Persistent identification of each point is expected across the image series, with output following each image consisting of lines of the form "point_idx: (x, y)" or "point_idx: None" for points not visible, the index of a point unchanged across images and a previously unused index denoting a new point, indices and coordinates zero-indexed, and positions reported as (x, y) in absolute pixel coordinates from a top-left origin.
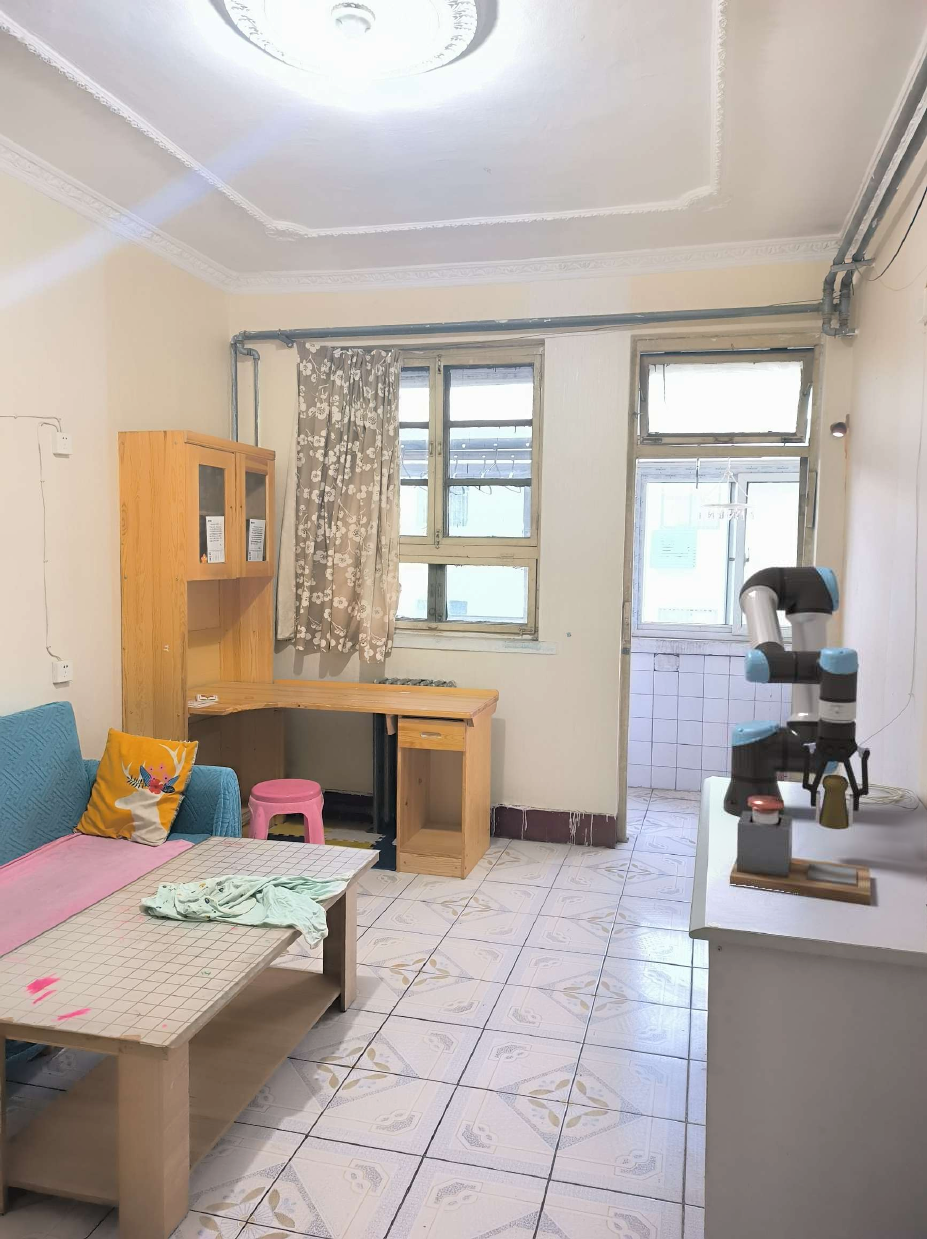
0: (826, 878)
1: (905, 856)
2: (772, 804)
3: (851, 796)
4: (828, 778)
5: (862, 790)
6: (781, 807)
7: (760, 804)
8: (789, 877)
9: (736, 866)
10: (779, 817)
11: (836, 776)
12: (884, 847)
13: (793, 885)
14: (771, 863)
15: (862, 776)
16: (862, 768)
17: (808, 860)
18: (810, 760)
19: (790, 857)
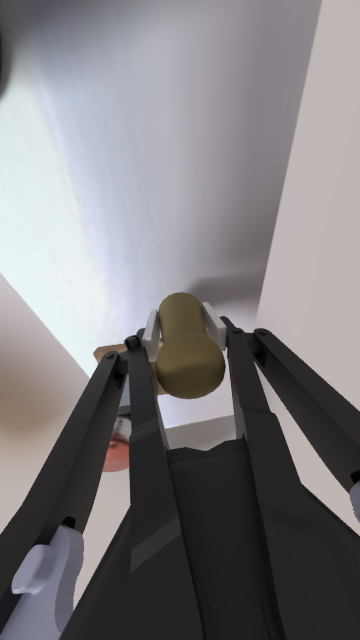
0: None
1: (259, 236)
2: (124, 468)
3: (221, 345)
4: (175, 396)
5: (253, 359)
6: None
7: (110, 471)
8: (158, 385)
9: None
10: (127, 413)
11: (197, 389)
12: (236, 202)
13: (165, 393)
14: None
15: (279, 395)
16: (303, 426)
17: (161, 345)
18: (99, 479)
19: (152, 380)
